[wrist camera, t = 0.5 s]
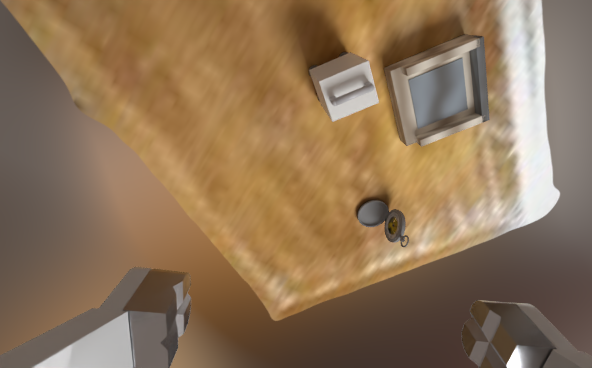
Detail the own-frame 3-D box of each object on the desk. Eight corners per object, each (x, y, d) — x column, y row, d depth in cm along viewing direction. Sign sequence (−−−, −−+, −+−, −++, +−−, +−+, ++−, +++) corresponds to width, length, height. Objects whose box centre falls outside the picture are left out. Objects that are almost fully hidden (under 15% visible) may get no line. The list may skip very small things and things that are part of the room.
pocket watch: (353, 204, 66) (368, 234, 58) (392, 191, 66) (412, 219, 57) (362, 233, 70) (377, 265, 62) (398, 220, 70) (419, 251, 61)
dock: (400, 140, 60) (411, 150, 56) (383, 68, 53) (395, 73, 49) (472, 111, 59) (489, 119, 55) (464, 34, 52) (483, 36, 48)
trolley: (318, 103, 55) (335, 127, 44) (306, 67, 52) (320, 83, 41) (358, 86, 54) (385, 107, 43) (347, 49, 51) (373, 61, 40)
